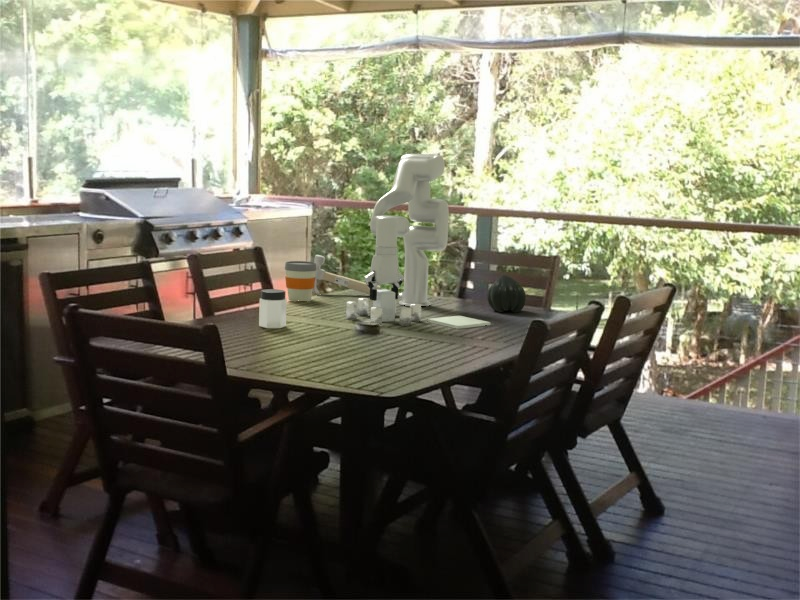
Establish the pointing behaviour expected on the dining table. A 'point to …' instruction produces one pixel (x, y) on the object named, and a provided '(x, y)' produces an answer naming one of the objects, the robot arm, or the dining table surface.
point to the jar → (272, 308)
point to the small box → (386, 304)
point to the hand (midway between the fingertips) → (383, 299)
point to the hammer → (337, 278)
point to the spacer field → (376, 312)
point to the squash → (506, 295)
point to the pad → (458, 322)
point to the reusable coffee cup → (300, 280)
